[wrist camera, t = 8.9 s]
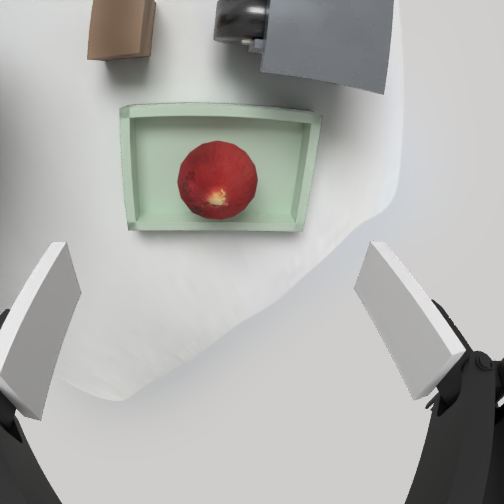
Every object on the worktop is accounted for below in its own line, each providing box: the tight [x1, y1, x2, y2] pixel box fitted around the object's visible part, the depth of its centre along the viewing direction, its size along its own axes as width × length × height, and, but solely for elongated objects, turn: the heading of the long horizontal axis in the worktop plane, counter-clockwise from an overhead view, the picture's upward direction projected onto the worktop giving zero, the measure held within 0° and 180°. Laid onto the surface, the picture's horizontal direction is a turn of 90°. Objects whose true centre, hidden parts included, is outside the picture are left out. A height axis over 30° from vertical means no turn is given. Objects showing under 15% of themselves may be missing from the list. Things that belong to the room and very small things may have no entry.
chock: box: [87, 0, 156, 61], centre depth 16 cm, size 4×5×4 cm
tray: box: [120, 103, 322, 232], centre depth 24 cm, size 16×11×2 cm
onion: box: [177, 140, 258, 220], centre depth 21 cm, size 6×6×8 cm
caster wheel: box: [213, 0, 394, 95], centre depth 16 cm, size 11×8×8 cm
